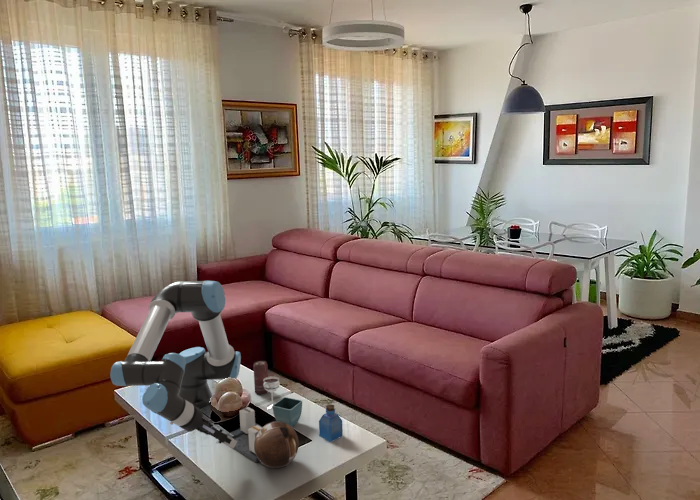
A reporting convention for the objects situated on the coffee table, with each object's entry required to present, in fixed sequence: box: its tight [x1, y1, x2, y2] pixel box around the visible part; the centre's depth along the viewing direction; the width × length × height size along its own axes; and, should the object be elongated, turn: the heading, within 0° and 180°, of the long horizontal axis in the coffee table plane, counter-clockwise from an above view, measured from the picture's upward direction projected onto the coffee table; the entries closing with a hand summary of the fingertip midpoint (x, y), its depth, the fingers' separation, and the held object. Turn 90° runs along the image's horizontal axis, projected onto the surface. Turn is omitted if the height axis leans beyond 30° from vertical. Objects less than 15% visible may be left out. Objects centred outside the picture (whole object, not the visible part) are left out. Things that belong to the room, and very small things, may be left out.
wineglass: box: [263, 376, 280, 410], centre depth 229 cm, size 7×7×12 cm
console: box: [225, 422, 263, 464], centre depth 201 cm, size 22×15×2 cm
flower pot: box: [272, 396, 303, 428], centre depth 214 cm, size 9×9×9 cm
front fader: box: [248, 424, 263, 453], centre depth 193 cm, size 4×4×8 cm
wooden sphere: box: [254, 420, 300, 469], centre depth 186 cm, size 15×15×15 cm
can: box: [253, 360, 269, 396], centre depth 243 cm, size 6×6×14 cm
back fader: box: [239, 406, 256, 434], centre depth 207 cm, size 4×4×8 cm
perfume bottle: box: [318, 404, 344, 443], centre depth 204 cm, size 6×6×12 cm
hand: (234, 444), depth 185 cm, fingers closed
